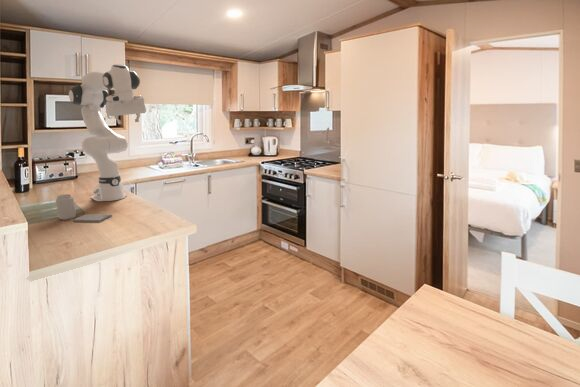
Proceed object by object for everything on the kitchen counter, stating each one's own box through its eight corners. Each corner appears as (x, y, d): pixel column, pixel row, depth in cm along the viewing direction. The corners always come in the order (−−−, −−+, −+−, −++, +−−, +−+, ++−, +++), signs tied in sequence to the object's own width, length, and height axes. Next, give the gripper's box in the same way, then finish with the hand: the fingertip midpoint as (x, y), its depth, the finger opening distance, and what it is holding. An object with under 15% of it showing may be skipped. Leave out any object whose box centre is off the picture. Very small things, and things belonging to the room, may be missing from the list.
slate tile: (73, 221, 175) (73, 219, 175) (86, 216, 185) (86, 214, 185) (99, 222, 174) (99, 220, 174) (112, 216, 184) (111, 214, 183)
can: (59, 221, 177) (55, 197, 174) (58, 217, 183) (54, 195, 180) (77, 218, 181) (73, 195, 178) (75, 215, 187) (71, 193, 184)
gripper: (140, 95, 199) (144, 120, 204) (102, 97, 185) (107, 124, 189) (146, 95, 195) (149, 121, 199) (107, 98, 181) (112, 125, 185)
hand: (128, 123), depth 194 cm, fingers open, 8 cm apart
